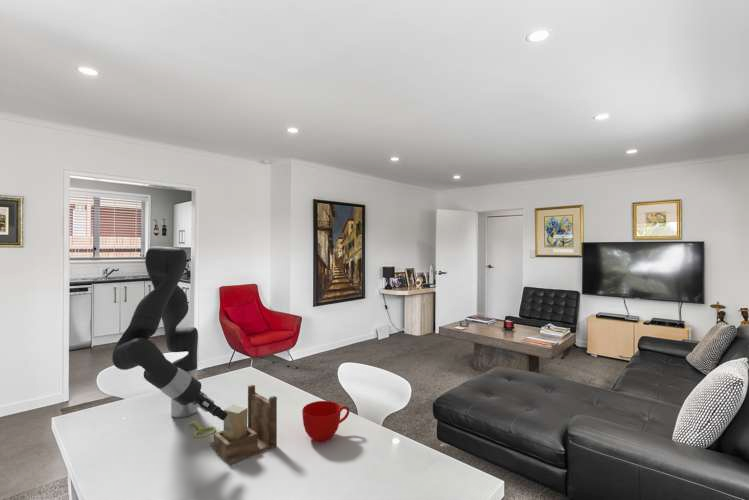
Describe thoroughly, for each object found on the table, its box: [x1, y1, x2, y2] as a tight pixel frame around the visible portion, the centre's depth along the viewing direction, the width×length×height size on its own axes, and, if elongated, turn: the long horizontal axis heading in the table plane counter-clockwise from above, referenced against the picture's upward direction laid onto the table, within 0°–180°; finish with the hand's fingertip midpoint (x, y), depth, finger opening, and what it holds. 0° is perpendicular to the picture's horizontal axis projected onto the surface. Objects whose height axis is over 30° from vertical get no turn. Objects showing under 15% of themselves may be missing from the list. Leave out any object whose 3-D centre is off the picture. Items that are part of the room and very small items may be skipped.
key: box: [187, 419, 217, 439], centre depth 135 cm, size 7×12×2 cm, turn 65°
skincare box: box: [222, 404, 248, 442], centre depth 122 cm, size 6×4×12 cm
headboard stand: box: [210, 384, 278, 465], centre depth 125 cm, size 17×15×16 cm
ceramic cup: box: [301, 400, 350, 443], centre depth 131 cm, size 13×17×10 cm
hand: (219, 412), depth 119 cm, fingers open, 8 cm apart
